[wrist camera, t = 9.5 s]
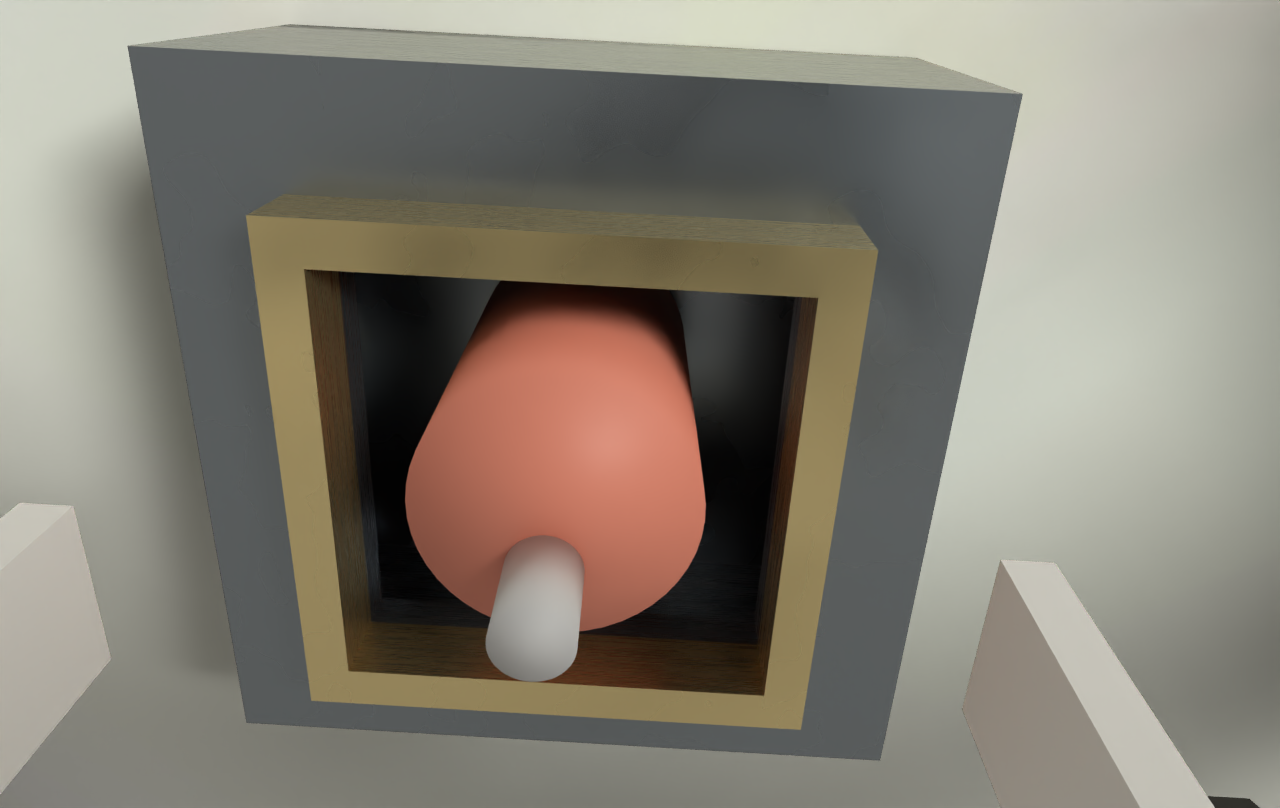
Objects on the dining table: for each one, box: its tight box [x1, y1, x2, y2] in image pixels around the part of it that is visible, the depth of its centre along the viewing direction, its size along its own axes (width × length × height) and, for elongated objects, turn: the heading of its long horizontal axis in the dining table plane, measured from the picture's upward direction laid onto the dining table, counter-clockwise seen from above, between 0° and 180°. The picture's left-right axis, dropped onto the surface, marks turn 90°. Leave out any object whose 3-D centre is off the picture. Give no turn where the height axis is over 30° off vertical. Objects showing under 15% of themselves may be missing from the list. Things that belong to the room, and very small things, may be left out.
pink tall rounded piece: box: [405, 280, 706, 682], centre depth 18 cm, size 5×5×10 cm
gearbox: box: [128, 24, 1022, 761], centre depth 20 cm, size 14×14×8 cm
